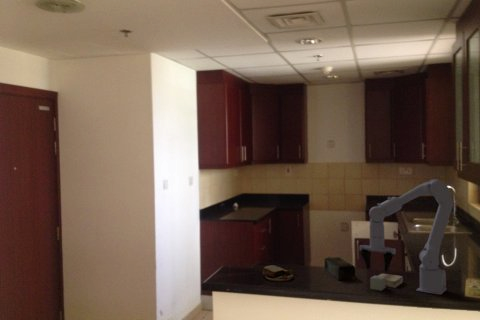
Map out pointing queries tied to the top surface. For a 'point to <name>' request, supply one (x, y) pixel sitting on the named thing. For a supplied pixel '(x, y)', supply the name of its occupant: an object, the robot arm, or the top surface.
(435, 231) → the robot arm
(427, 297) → the top surface
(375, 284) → the cube
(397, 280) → the slab
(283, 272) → the toy sandwich meal
